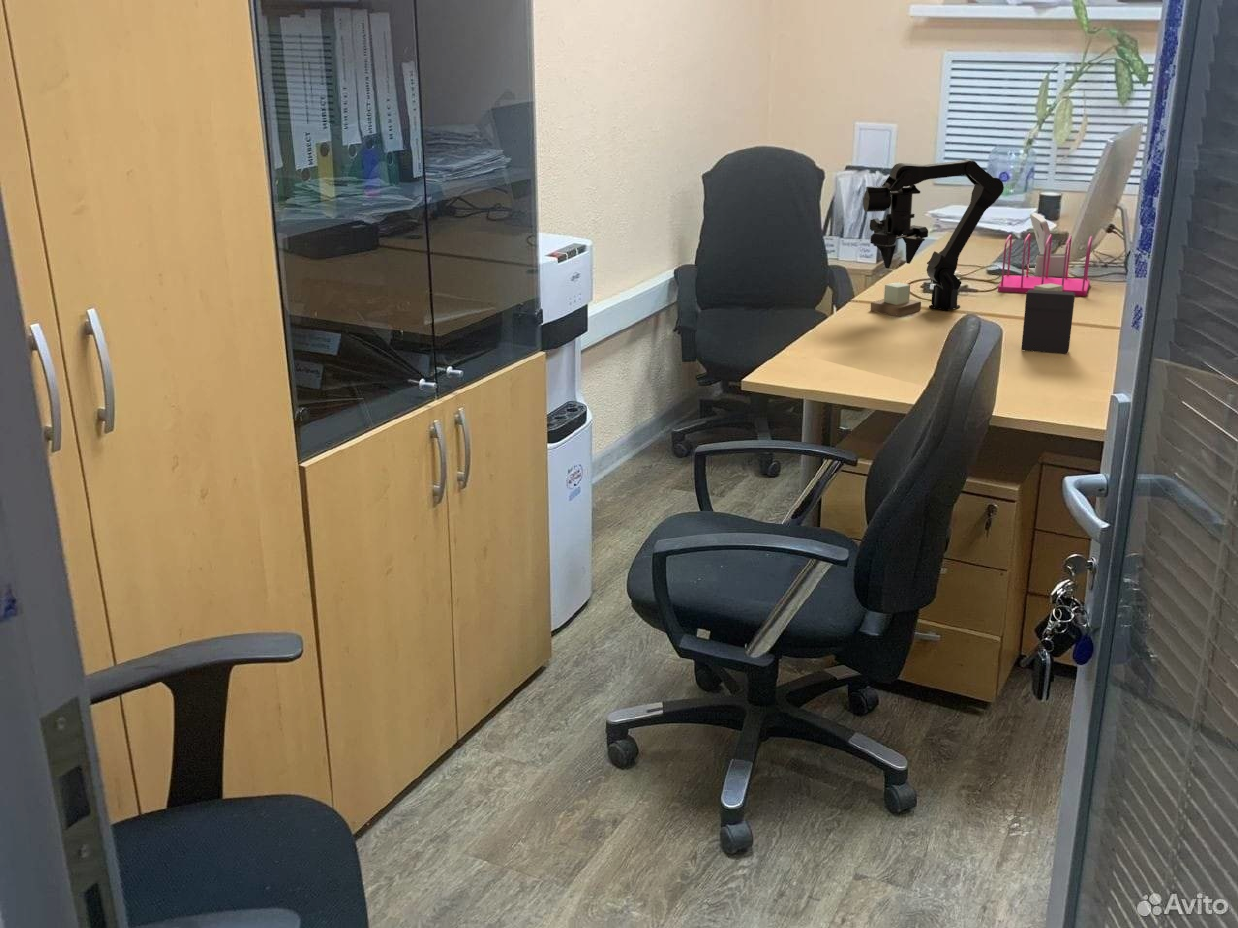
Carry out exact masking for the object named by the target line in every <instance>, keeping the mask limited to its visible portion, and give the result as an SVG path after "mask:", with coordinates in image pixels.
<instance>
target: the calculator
mask: <svg viewBox="0 0 1238 928" xmlns="http://www.w3.org/2000/svg"><path fill="white" fill-rule="evenodd" d="M1025 294H1026V295H1025V303H1024V304H1025V305H1024V317H1023V318H1024V319H1023V329H1022V336H1021V337H1022V339H1021V351H1022V350H1025V351H1024V352H1033V351H1034V352H1036V353H1047V354H1059V355H1067V354H1068V353H1069V351H1070V341H1071V333H1072V325H1073V323H1072V322H1073V318H1074V316H1073V315H1074V307H1075V297H1076V296H1075V293H1074V292H1063V291H1046V290H1028V292H1027V293H1025ZM1034 352H1033V353H1034Z"/></svg>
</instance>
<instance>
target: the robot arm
mask: <svg viewBox="0 0 1238 928" xmlns="http://www.w3.org/2000/svg"><path fill="white" fill-rule="evenodd" d="M961 176H965V177H966V178H967V179H968V181H970V183H972V185H974V187H973V189H972V191H971V196H970V203H969V205H968V207H967V208H966V210H965V212H964V214H963V215H962V216H961V219H960V220H959V222H958V223H957V226H956V227H955V229H954V231H953V232H952V234H951V236H950V238H949V240H948V241H947V243H946V245H944V246H945V247H944V248H943V249H942V250H941V251H940V252H937V251H933V253H932V255H931V257H930V258H929V259H930V260H929V261H927V262H926V265H927V267H926V273H927V276H928V278H930V279H931V280H932V284H933V289H932V290H931V301H930V302H931V303H930V305H928V308H930V309H931V308H932V309H936V310H941V311H950V310H954V309H958V308H961V304H958V298H959V297H958V296H959V295H958V294H959V290H960V288H961V285H962V281H961V280H960V279H959V278H958V277H957V276H956V275H955V273H956V270H957V268H958V262H959V257H960V255H961V253H962V251H963V250H964V248H965V247H966V244H967V242H968V241H969V239H970V238H971V236H972V235H973V233H974V231H975V229H976V227H977V225H978V223H979V222H980V221H981V218H982V217H983V215H984V213H985V212H986V211H987V210H988V209H989V208H991V206H993V205H994V204H995V203H996V201H997V200H999V198H1000V197H1001V195H1002V194H1003V192H1004V189H1005V186H1004V183H1003V181H1002V179H1000V178H998V177H995V176H992V175H991V174H990V173H989V172H987V171H986V170H985V169H983V167H981V166H980V165H979V164H978V163H977V162H976V161H974V160H973V159H968V158H966V159H962V160H955V161H947V162H945V161H944V162H939V163H938V162H937V163H929V164H918V163H917V164H916V163H907V162H906V163H905V162H899V163H896V164H894V165H893V166H892V167H891V169H890V174H889V175H888V176H887V178H886V179H885V181H884V182H883V183H882V184H881V186H870V185H869V186H866V188H865V191H864V195H863V197H862V207H863V210H864V213H869V212H870V213H871V212H886V211H887V209H890V213H887V214H886V217H885V219H882V220H880V219H879V218H878V217H876V218H872V219H870V221H869V230H870V231H871V232H873V233H872V234H871V235H870V241H869V242H870V244H871V245H872V244H873V246H874V247H876V248H877V249H878V250H879V251H880V254H881V257H882V261H883V264H884V267H885V268H886V269H890V267H891V265H892V261H893V258H894V254H895V250H896V248H897V247H896V244H895V243H896V242H897V240H900V239H902V240H903V242H904V243H905V263H906V264H911V262H912V261H913V259H914V257H915V256H916V253H917V251H918V250H919V248H920V247H921V245H922V243H923V242H924V241H925V240H926V238H929V229H928V228H927V227H926V226H922V225H912V224H911V223H912V219H914V218H915V216H916V215H915V213H912V208H913V195H916V194H917V195H919V194H921V190H919V189H918V188H917V187H916V185H918V184H920V183H922V182H924V181H927V180H934V179H936V180H937V179H941V178H942V179H944V178H951V177H961ZM885 268H884V269H885Z"/></svg>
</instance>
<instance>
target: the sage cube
mask: <svg viewBox="0 0 1238 928" xmlns="http://www.w3.org/2000/svg"><path fill="white" fill-rule="evenodd" d="M883 293H884V295H883V299H884V302H887V303H891V304H895V305H899V304H903V303H908V302H909V299H910V296H911V284H907V283H903V282H900V281H899V282H898V281H897V282H896V281H895V282H892V283H886V284H884V292H883Z"/></svg>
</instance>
